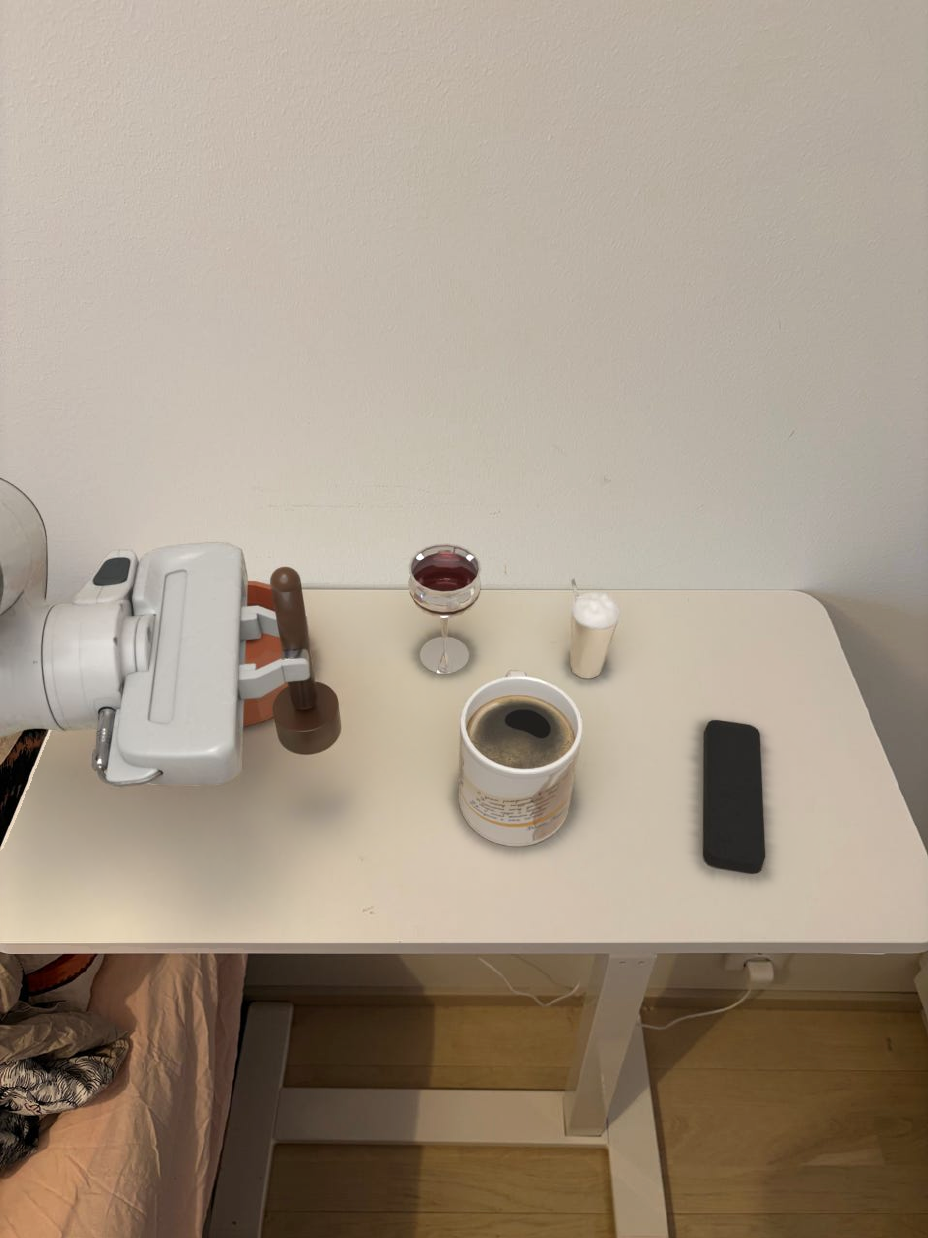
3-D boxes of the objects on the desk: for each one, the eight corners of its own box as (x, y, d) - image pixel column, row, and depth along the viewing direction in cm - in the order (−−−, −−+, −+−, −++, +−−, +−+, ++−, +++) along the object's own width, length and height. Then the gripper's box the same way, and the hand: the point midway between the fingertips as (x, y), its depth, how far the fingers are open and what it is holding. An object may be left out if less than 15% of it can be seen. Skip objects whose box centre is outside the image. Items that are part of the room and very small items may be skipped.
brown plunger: (282, 761, 71) (249, 603, 59) (273, 711, 74) (240, 552, 62) (347, 747, 72) (328, 589, 60) (335, 698, 75) (315, 539, 63)
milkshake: (577, 638, 96) (588, 567, 88) (618, 667, 93) (632, 596, 86) (547, 661, 93) (556, 590, 86) (588, 691, 91) (601, 621, 84)
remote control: (761, 878, 78) (756, 732, 88) (766, 868, 76) (761, 721, 86) (701, 868, 78) (703, 724, 88) (705, 858, 77) (707, 713, 87)
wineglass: (468, 625, 97) (471, 538, 88) (486, 673, 92) (490, 586, 84) (404, 636, 95) (400, 549, 87) (419, 686, 91) (416, 599, 82)
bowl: (171, 742, 86) (158, 705, 82) (161, 633, 95) (148, 595, 91) (324, 709, 89) (318, 672, 85) (299, 607, 98) (293, 569, 94)
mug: (429, 802, 82) (428, 725, 74) (508, 716, 89) (515, 637, 81) (528, 868, 78) (538, 794, 70) (603, 773, 84) (620, 696, 76)
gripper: (72, 759, 55) (307, 736, 57) (114, 534, 69) (301, 520, 71) (100, 817, 60) (317, 794, 61) (134, 594, 74) (309, 580, 75)
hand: (308, 645), depth 66 cm, fingers closed on brown plunger
